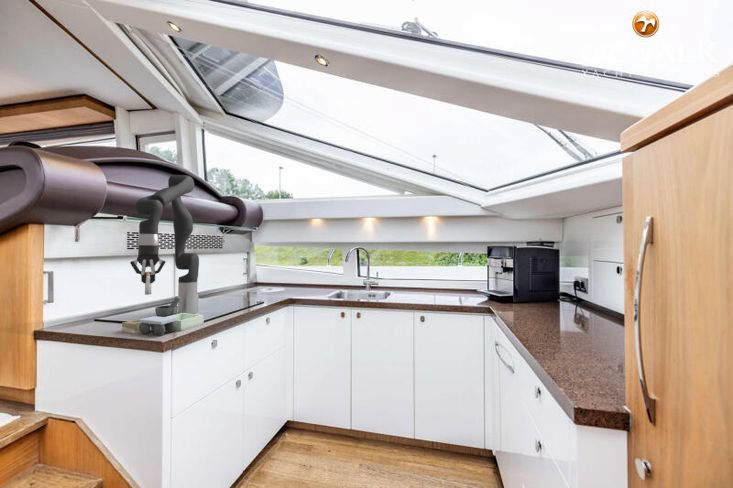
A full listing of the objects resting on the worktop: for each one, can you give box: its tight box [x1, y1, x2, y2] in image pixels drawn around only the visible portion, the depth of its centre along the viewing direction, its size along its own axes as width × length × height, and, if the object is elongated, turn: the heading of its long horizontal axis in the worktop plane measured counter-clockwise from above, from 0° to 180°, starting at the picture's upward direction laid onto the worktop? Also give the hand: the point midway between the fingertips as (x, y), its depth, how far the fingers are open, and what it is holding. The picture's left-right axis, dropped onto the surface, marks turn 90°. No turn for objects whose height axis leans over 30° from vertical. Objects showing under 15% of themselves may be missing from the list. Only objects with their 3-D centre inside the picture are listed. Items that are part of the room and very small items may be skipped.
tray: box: [163, 313, 205, 332], centre depth 150 cm, size 13×13×4 cm
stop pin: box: [144, 271, 152, 296], centre depth 145 cm, size 2×2×10 cm
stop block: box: [121, 318, 150, 334], centre depth 142 cm, size 7×7×4 cm
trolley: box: [139, 315, 176, 336], centre depth 139 cm, size 13×7×6 cm, turn 74°
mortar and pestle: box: [154, 295, 181, 317], centre depth 162 cm, size 11×9×12 cm
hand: (148, 282), depth 145 cm, fingers closed on stop pin, 2 cm apart
